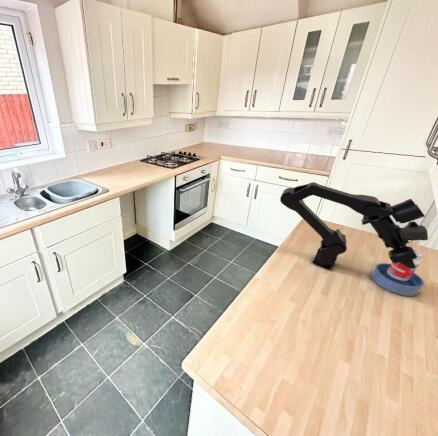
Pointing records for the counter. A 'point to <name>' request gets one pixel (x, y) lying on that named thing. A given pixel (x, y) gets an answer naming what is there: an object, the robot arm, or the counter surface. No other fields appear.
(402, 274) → the pill bottle
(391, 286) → the bowl
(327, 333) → the counter surface
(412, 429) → the counter surface
